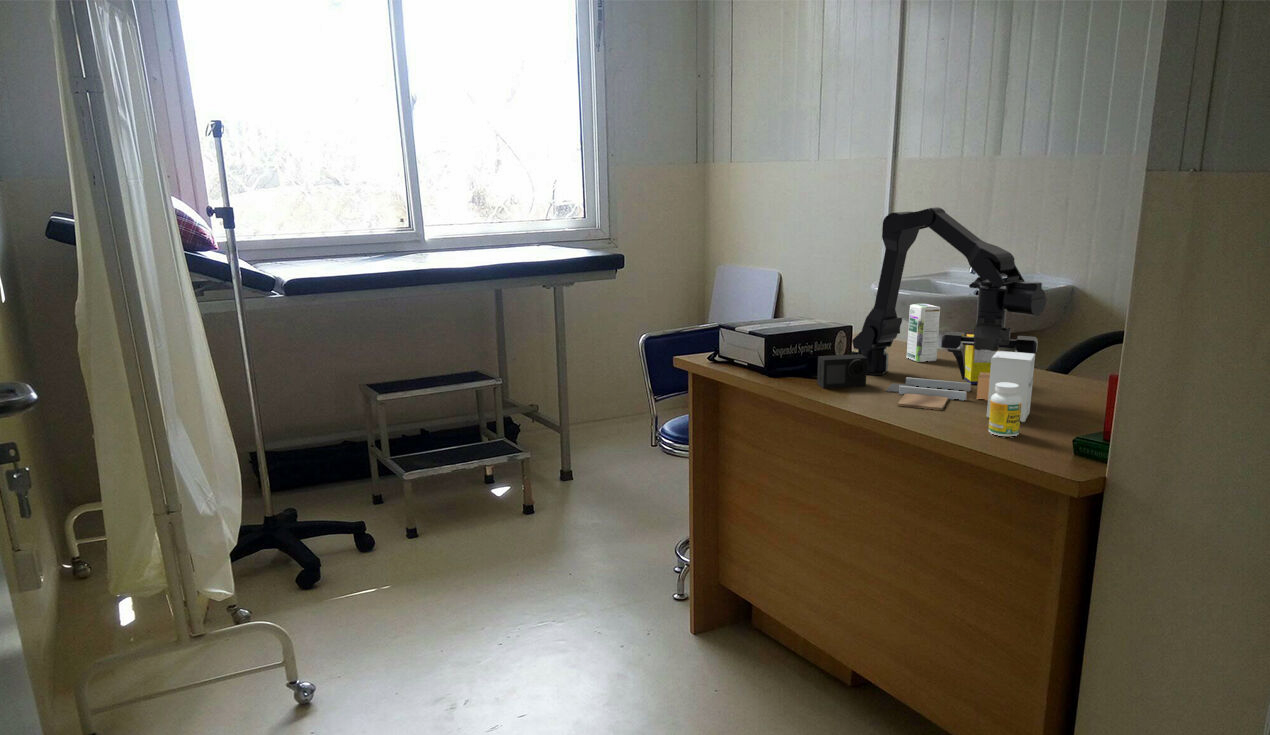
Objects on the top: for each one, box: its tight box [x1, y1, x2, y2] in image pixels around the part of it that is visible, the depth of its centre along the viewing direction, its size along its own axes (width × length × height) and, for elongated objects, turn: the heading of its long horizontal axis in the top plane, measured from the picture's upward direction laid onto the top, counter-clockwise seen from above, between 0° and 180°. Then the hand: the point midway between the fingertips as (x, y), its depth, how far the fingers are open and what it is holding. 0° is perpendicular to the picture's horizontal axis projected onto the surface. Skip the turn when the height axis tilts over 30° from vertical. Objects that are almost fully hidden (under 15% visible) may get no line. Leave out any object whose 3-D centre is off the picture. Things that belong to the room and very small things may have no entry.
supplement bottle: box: [988, 382, 1022, 437], centre depth 154 cm, size 5×5×10 cm
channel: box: [898, 376, 972, 401], centre depth 185 cm, size 14×9×2 cm, turn 62°
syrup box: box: [906, 303, 941, 363], centre depth 216 cm, size 6×6×14 cm
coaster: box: [897, 393, 949, 411], centre depth 177 cm, size 9×9×1 cm
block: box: [976, 372, 990, 401], centre depth 180 cm, size 5×5×5 cm
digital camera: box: [816, 353, 868, 390], centre depth 192 cm, size 10×5×7 cm, turn 97°
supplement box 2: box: [986, 350, 1036, 423], centre depth 165 cm, size 7×7×13 cm
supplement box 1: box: [964, 333, 1000, 385], centre depth 192 cm, size 6×6×11 cm
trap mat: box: [885, 382, 915, 394], centre depth 189 cm, size 5×7×1 cm
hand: (986, 381), depth 180 cm, fingers open, 9 cm apart
